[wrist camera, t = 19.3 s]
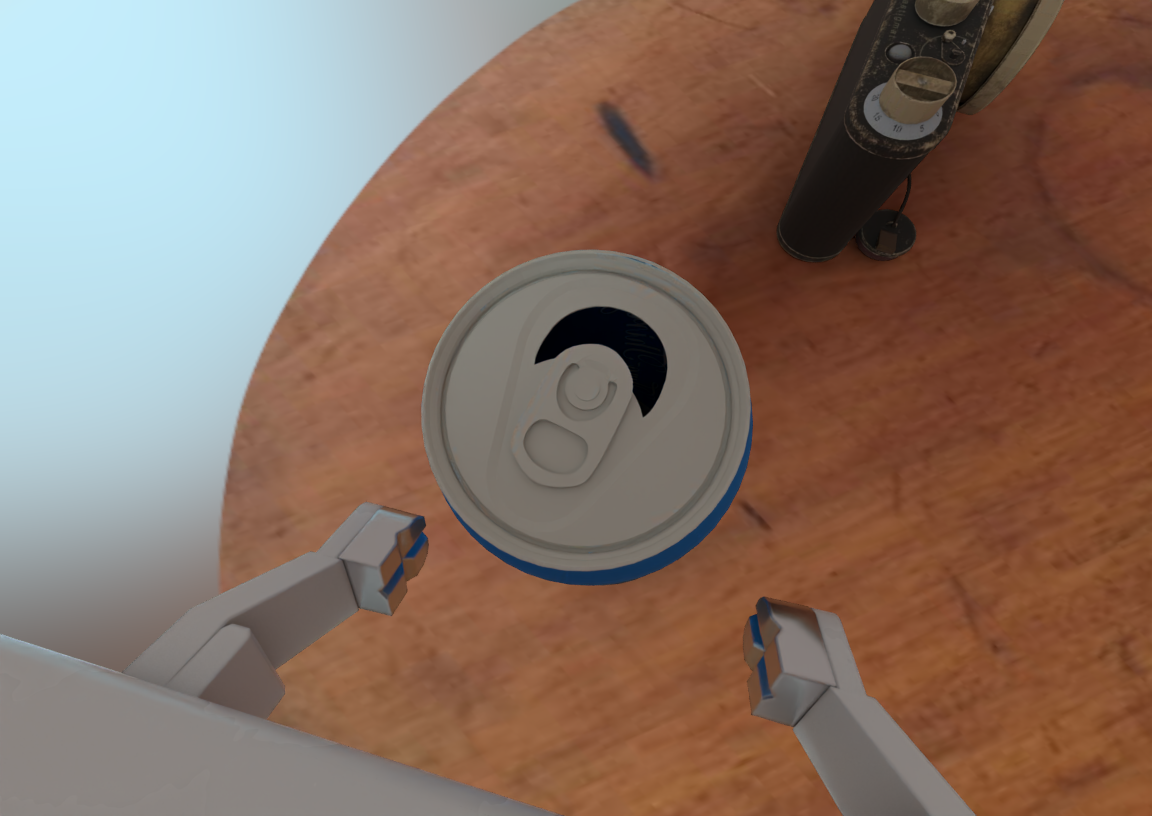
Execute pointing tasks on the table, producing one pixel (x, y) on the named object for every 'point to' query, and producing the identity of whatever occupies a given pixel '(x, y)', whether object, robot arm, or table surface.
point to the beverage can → (588, 417)
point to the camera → (901, 114)
